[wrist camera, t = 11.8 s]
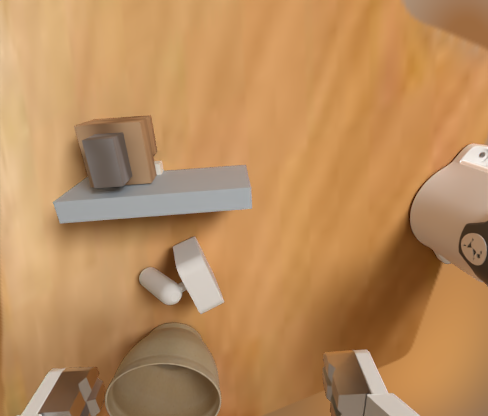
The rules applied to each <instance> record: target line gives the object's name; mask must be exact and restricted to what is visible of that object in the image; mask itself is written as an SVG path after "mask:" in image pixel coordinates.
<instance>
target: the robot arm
mask: <svg viewBox="0 0 488 416" xmlns="http://www.w3.org/2000/svg"><path fill="white" fill-rule="evenodd" d="M480 153H481V155H480V156H479V154H480ZM410 224H411V228H412V231H413V233H414V235H415V237H416V238H417V239H418V240H419V241H420V242H421V243H423V244H424V245H426V246H428V247H429V248H431V249H432V250H433V251H434V253H435V255H436V256H437V258H438V259H439V260H440V261H442V262H443V263H445V264H450V263H452V264H454V265H455V266H457V267H458V268H460V269H461V270H463V271H464V272H466V273H467V274H469V275H470V276H472V277H473V278H475V279H476V280H478V281H480V282H484V283H485V284H487V286H488V145H481V144H469V145H468V146H466V147H465V148H464V149H463V150H462V151H461V152H460V153H459V154H458V155H457V157H456V158H455V159H454V160H453V162H451V163H450V164H449V165H447V166H446V167H444V168H443V169H441V170H440V171H438V172H437V173H435V174H434V175H433V176H432V177H431V178H430V179H429V180H428V181H427V182H426V183H425V184H424V185H423V186H422V188H421V189H420V190H419V192H418V194H417V195H416V197H415V199H414V202H413V204H412V208H411V212H410ZM323 361H324V365H325V367H324V368H323V384H324V389H325V393H326V397H327V399H328V400H329V401H330V402H331V405H330V412H331V416H420V415H419V414H418V413H416V412H415V411H414V410H413V409H412V408H410V407H409V406H408V405H407V404H406V403H404V402H403V401H402V400H401V399H400V398H398V397H397V396H396V395H395V394H393V393H388V391H387V389H386V387H385V384H384V382H383V380H382V378H381V376H380V374H379V372H378V369H377V367H376V365H375V363H374V361H373V359H372V357H371V354H370V352H369V351H368V350H367V349H366V350H346V351H332V352H324V354H323ZM98 376H99V371H98V369H97V367H75V368H53V369H52V370H51V371H49V372H48V373H47V375H46V377H45V378H44V380H43V381H42V383H41V384H40V386H39V388H38V389H37V391H36V392H35V394H34V395H33V397H32V398H31V400H30V402H29V403H28V405H27V406H26V408H25V409H24V411H23V413H22V414H21V415H16V416H96V415H97V414H98V413H99V412H100V410H101V408H102V405H103V403H104V397H105V386H104V383H103V381H101V380H100V379H98Z"/></svg>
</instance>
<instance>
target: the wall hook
mask: <svg viewBox="0 0 488 416" xmlns="http://www.w3.org/2000/svg"><path fill="white" fill-rule="evenodd" d="M173 251H174V257H175V264H176V268H177V271H178V273H179V276H180V278H181V280H182V281H183V282H181V283H179V284H177V283H176V282H175V281H173V280H172V279H170V278H169V277H167V276H166V275H164V274H163V273H161V272H160V271H158V270H157V269H155V268H153V267H148V268H146V269H144V270H143V271H142V272H141V274H140V276H139V281H140V284H141V285H142V286H144V287H145V288H146V289H147V290H148V291H149V292H151V293H152V294H153V295H154V296H155V297H157V298H158V299H159V300H160V301H161V302H163V303H164V304H166V305H174V304H176V303H177V302H179V300H180V299H181V297H182V292H184V291H186V290H187V291H188V292H189V294H190V296H191V298H192V300H193V302H194V303H195V305H196V307H197V309H198V311H199V312H200V314H202V313H204V312H206V311H208V310H210V309H212V308H214V307H216V306H218V305H220V304H222V303H224V299H223V297H222V294H221V291H220V289H219V286H218V284H217V281H216V278H215V276H214V274H213V272H212V269H211V267H210V265H209V263H208V261H207V259H206V257H205V255H204V253H203V251H202V249H201V247H200V245H199V243H198V241H197V239H196V237H195V236H194V237H192V238H190V239H188V240H185V241H183V242H181V243H179V244H177V245H175V246H173Z"/></svg>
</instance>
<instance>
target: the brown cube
mask: <svg viewBox="0 0 488 416" xmlns="http://www.w3.org/2000/svg"><path fill="white" fill-rule="evenodd" d="M74 127H75V131H76V135H77V138H78V142H79V146H80V149H81V153H82V157H83V160H84V164H85V168H86V171H87V175H88V179H89V182H90V186H91V188H92V187H94V188H106V187H120V186H124V185H132V184H146V183H152V182H153V180H154V179H155V177H156V176H157V174H156V169H155V163H154V158H153V156H154V154H155V153H156V152H157V147H156V141H155V136H154V130H153V124H152V118H151V116H136V117H121V118H107V119H94V120H91V121H88V122H85V123H82V124H79V125H76V126H74Z"/></svg>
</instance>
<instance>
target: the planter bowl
mask: <svg viewBox="0 0 488 416" xmlns="http://www.w3.org/2000/svg"><path fill="white" fill-rule="evenodd" d="M105 405H106V409H107V411H108V413H109V415H110V416H217V414H218V412H219V410H220V406H221V392H220V388H219V377H218V371H217V367H216V364H215V361H214V359H213V356H212V354H211V352H210V351H209V349H208V347H207V346H206V345H205V343H204V342H203V341H202V338H201V336H200V334H199V333H198V332H197V331H196V330H195V329H193V328H192V327H190V326H188V325H185V324H181V323H167V324H163V325H160V326H158V327H156V328H155V329H153V330H152V331H151V332H150V334H149V335H148V336H146V337H145V338H143V339H142V340H141V341H139V342H138V343H137V344H136V345H135V346H134V347H133V348H132V349H131V350H130V351H129V352H128V354H127V355H126V356H125V358H124V359H123V361H122V362H121V364H120V366H119V367H118V369H117V371H116V374H115V376H114V378H113V379H112V381H111V383H110V384H109V386H108V389H107V391H106V395H105Z"/></svg>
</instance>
